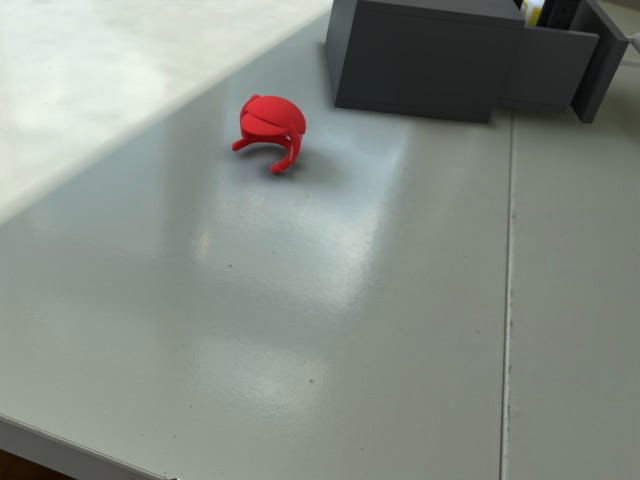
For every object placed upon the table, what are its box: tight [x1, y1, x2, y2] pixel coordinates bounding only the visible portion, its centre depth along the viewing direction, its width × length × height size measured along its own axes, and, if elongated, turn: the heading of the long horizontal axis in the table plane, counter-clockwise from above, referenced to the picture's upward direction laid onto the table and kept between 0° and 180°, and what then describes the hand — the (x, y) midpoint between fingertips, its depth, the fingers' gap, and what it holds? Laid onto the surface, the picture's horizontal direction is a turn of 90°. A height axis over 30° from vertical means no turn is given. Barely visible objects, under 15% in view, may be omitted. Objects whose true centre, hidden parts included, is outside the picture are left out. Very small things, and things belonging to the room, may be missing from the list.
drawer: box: [494, 0, 640, 125], centre depth 81 cm, size 21×13×9 cm, turn 90°
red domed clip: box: [231, 93, 307, 174], centre depth 67 cm, size 8×6×6 cm
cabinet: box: [324, 0, 526, 125], centre depth 80 cm, size 16×14×11 cm
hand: (541, 23), depth 79 cm, fingers closed on supplement bottle, 4 cm apart
